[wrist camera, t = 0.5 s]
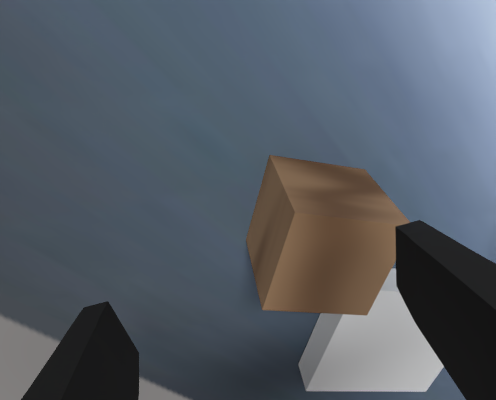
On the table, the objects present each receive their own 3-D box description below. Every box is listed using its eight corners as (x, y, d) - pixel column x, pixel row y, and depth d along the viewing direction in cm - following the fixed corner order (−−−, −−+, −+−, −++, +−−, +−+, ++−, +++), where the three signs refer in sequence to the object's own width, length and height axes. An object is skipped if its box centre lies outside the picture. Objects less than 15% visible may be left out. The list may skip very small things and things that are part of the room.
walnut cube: (364, 168, 20) (413, 226, 16) (331, 247, 22) (367, 315, 18) (269, 154, 19) (295, 212, 15) (245, 238, 21) (262, 310, 17)
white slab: (472, 275, 25) (493, 298, 23) (411, 366, 29) (425, 391, 28) (342, 263, 23) (355, 288, 21) (298, 364, 27) (305, 391, 26)
